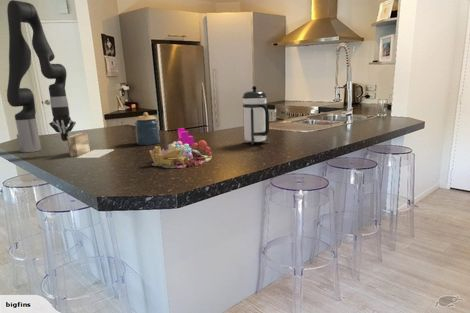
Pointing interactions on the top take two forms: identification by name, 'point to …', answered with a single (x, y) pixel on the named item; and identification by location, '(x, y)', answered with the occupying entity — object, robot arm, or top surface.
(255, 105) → the coffee press
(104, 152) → the mat
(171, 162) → the candy landscape model
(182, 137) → the toy block
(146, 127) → the canister
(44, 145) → the top surface
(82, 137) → the birch tile
